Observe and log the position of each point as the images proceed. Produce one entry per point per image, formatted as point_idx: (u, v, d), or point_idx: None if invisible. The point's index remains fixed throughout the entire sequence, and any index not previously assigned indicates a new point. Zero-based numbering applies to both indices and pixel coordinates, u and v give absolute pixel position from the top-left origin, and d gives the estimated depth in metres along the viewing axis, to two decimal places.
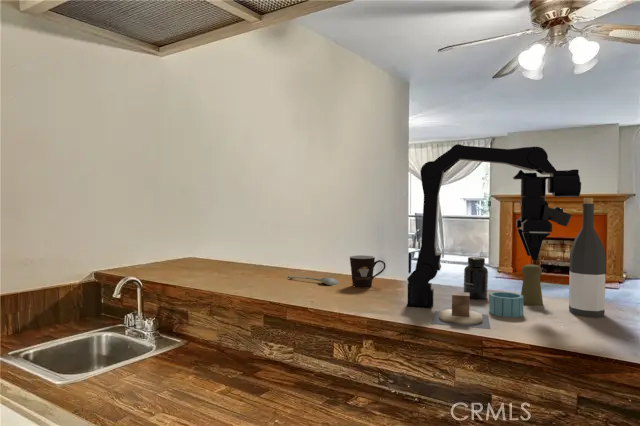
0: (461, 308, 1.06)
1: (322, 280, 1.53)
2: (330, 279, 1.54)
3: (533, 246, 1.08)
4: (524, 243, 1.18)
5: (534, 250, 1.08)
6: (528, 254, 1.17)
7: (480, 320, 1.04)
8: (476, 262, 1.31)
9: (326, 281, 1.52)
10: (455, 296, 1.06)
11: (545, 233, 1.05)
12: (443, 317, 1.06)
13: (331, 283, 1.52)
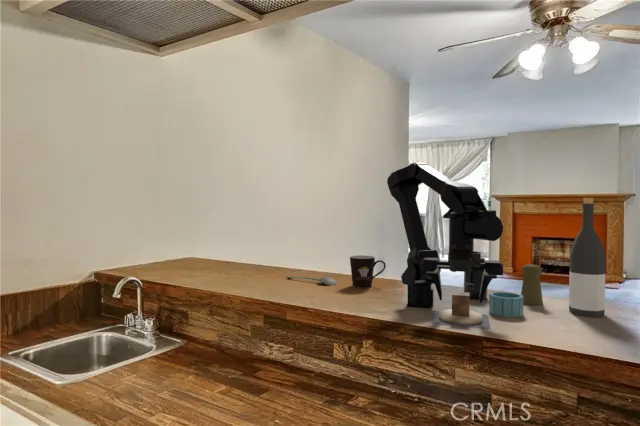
0: (461, 308, 1.06)
1: (321, 280, 1.54)
2: (329, 279, 1.54)
3: None
4: None
5: None
6: None
7: (480, 320, 1.04)
8: None
9: (325, 281, 1.52)
10: (455, 296, 1.06)
11: (426, 272, 1.08)
12: (443, 317, 1.06)
13: (330, 283, 1.52)
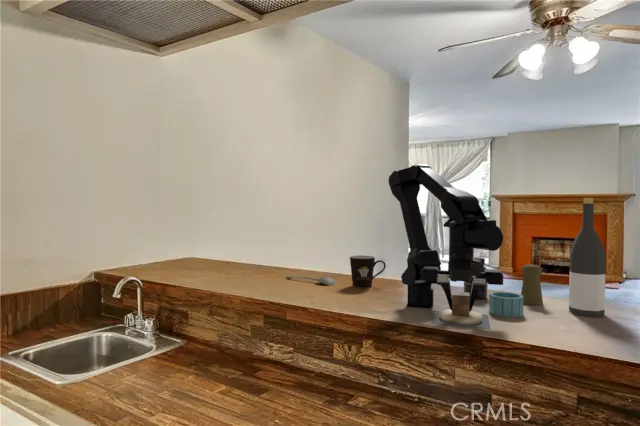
0: (461, 308, 1.06)
1: (320, 280, 1.54)
2: (328, 279, 1.54)
3: None
4: (470, 296, 1.08)
5: None
6: (469, 309, 1.07)
7: (480, 320, 1.04)
8: None
9: (324, 281, 1.53)
10: (455, 296, 1.06)
11: (436, 282, 1.07)
12: (443, 317, 1.06)
13: (329, 283, 1.52)
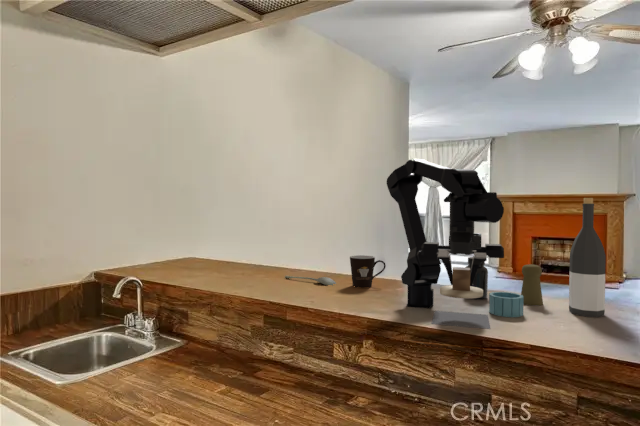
0: (461, 282, 1.05)
1: (319, 280, 1.54)
2: (327, 279, 1.54)
3: None
4: None
5: None
6: (470, 284, 1.07)
7: (481, 294, 1.04)
8: None
9: (323, 281, 1.53)
10: (456, 270, 1.06)
11: (437, 256, 1.07)
12: (444, 291, 1.05)
13: (328, 283, 1.52)
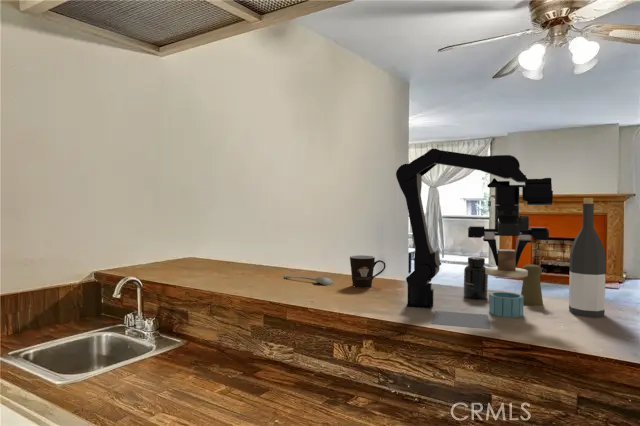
0: (507, 263, 1.11)
1: (317, 280, 1.54)
2: (325, 279, 1.54)
3: None
4: None
5: (493, 255, 1.14)
6: None
7: (526, 274, 1.10)
8: (476, 262, 1.31)
9: (321, 281, 1.53)
10: (501, 252, 1.11)
11: (483, 239, 1.13)
12: (490, 272, 1.11)
13: (326, 283, 1.53)
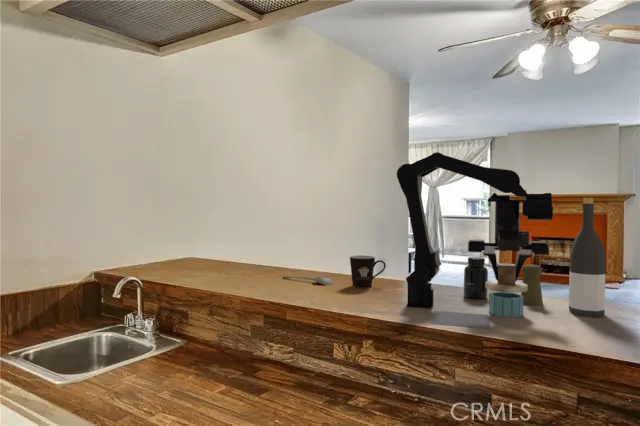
0: (507, 277, 1.11)
1: (316, 279, 1.54)
2: (324, 278, 1.54)
3: None
4: None
5: (493, 269, 1.14)
6: None
7: (526, 288, 1.10)
8: (476, 262, 1.31)
9: (320, 280, 1.53)
10: (502, 266, 1.12)
11: (483, 253, 1.13)
12: (490, 286, 1.12)
13: (325, 282, 1.53)
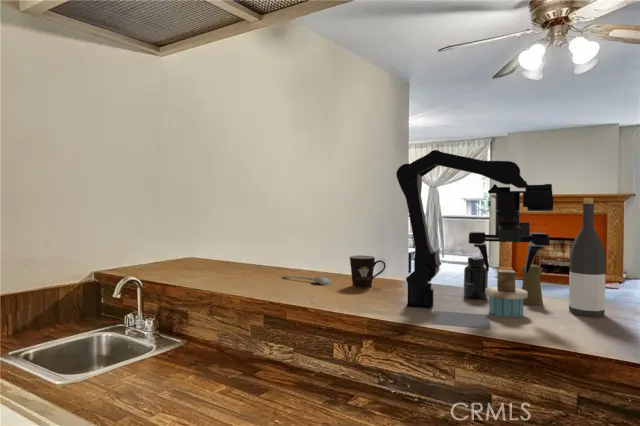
0: (507, 284, 1.11)
1: (315, 279, 1.54)
2: (323, 278, 1.55)
3: None
4: (526, 259, 1.13)
5: None
6: None
7: (526, 295, 1.10)
8: (476, 262, 1.31)
9: (319, 280, 1.53)
10: (501, 273, 1.12)
11: (474, 244, 1.14)
12: (490, 293, 1.12)
13: (324, 282, 1.53)
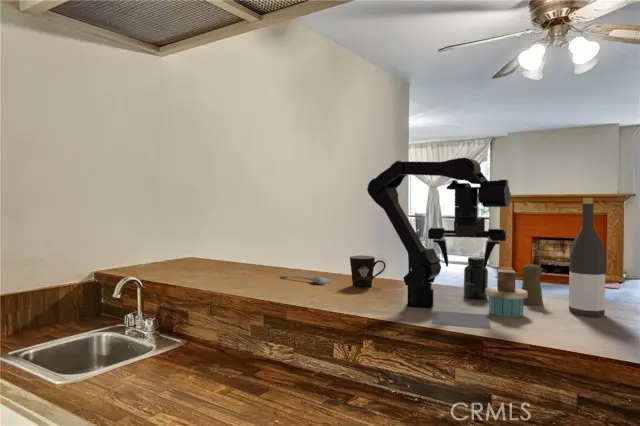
0: (507, 284, 1.11)
1: (313, 279, 1.55)
2: (321, 278, 1.55)
3: None
4: None
5: None
6: None
7: (526, 295, 1.10)
8: (476, 262, 1.31)
9: (317, 280, 1.54)
10: (501, 273, 1.12)
11: (433, 240, 1.15)
12: (490, 293, 1.12)
13: (322, 282, 1.53)
